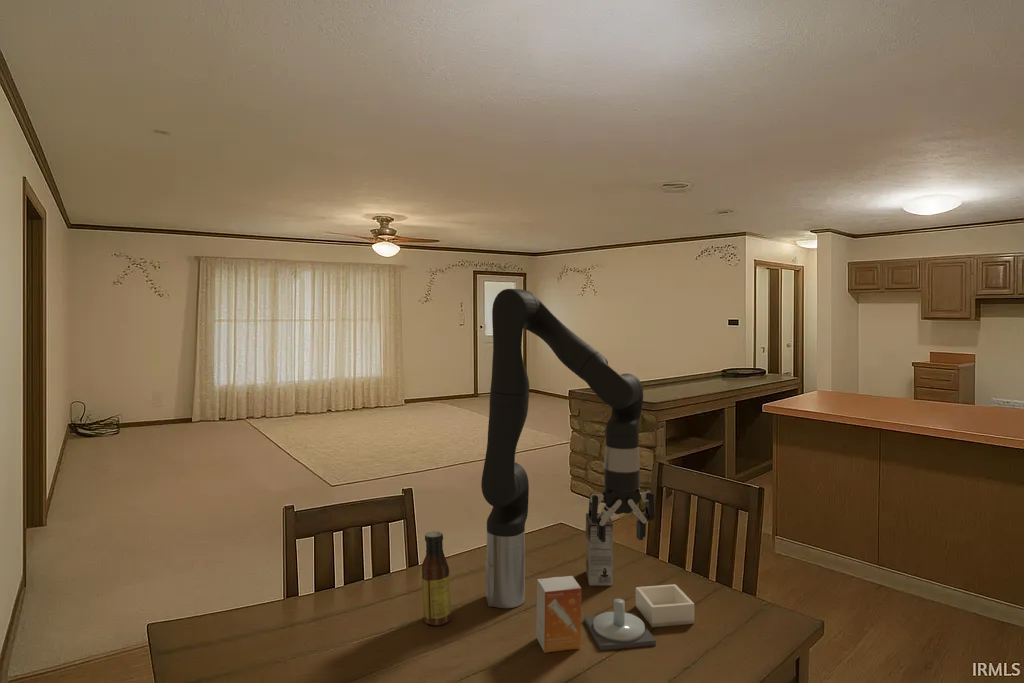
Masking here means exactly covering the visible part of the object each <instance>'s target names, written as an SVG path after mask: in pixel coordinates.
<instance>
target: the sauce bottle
mask: <svg viewBox="0 0 1024 683" xmlns="http://www.w3.org/2000/svg"><path fill="white" fill-rule="evenodd" d="M443 540H444V534H443V532H441V531H439V530H434V531H433V530H432V531H428V532H426V533H425V534H424V541H425V547H426V548H425V549H426V550H425V557H424V559H423V561H422V564H421V585H422V586H421V587H422V588H421V589H422V609H423V610H422V613H423V614H422V615H423V619H424V622H425V624H428V625H430V626H442V625H446V624H447V623H449V621H450V620H451V612H452V605H451V602H452V600H451V578H450V567H449V564H448V562H447V558H446V556H445V553H444V549H443Z"/></svg>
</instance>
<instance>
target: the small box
mask: <svg viewBox="0 0 1024 683" xmlns="http://www.w3.org/2000/svg"><path fill="white" fill-rule="evenodd" d="M536 639H537V641H538V643H539V645H540V647H541V649H542V651H543V653H545V654H548V653H551V652H552V653H553V652H561V651H568V650H580V649H581V646H582V645H581V644H582V643H581V641H582V587H581V586H580V584H579V582H577V580H576V578H575V577H574V576H573V575H566V576H552V577H547V578H546V577H545V578H537V579H536Z"/></svg>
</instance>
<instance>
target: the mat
mask: <svg viewBox="0 0 1024 683" xmlns="http://www.w3.org/2000/svg"><path fill="white" fill-rule="evenodd" d="M628 613H629V614H632V615H634V616H636V617H638V618H640V617H639V615H638V614H637V613H636V612H628ZM596 616H597V615H593V616H584V623H585V624H586V627H587V629H588V630H589V632H590V634H591V636H592V637H593V640H594V641H595V642H596V644H597V647H598V648H599V650H600V651H608V650H618V649H620V650H621V649H629V648H631V649H632V648H639V647H649V646H656V645H657V640H656V638H655V637H654V636H653V635H652V633H651V632H650V630H649V629H648V628H647V627H646V626H645V633H644V635H643V636H642V637H641V638H639V639H637V640H634V641H630V642H617V641H612V640H608V639H605V638H603V637H601V636H600V635H598V634H597V633H596V632H595V630H594V627H593V622H594V619H595V617H596Z"/></svg>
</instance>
